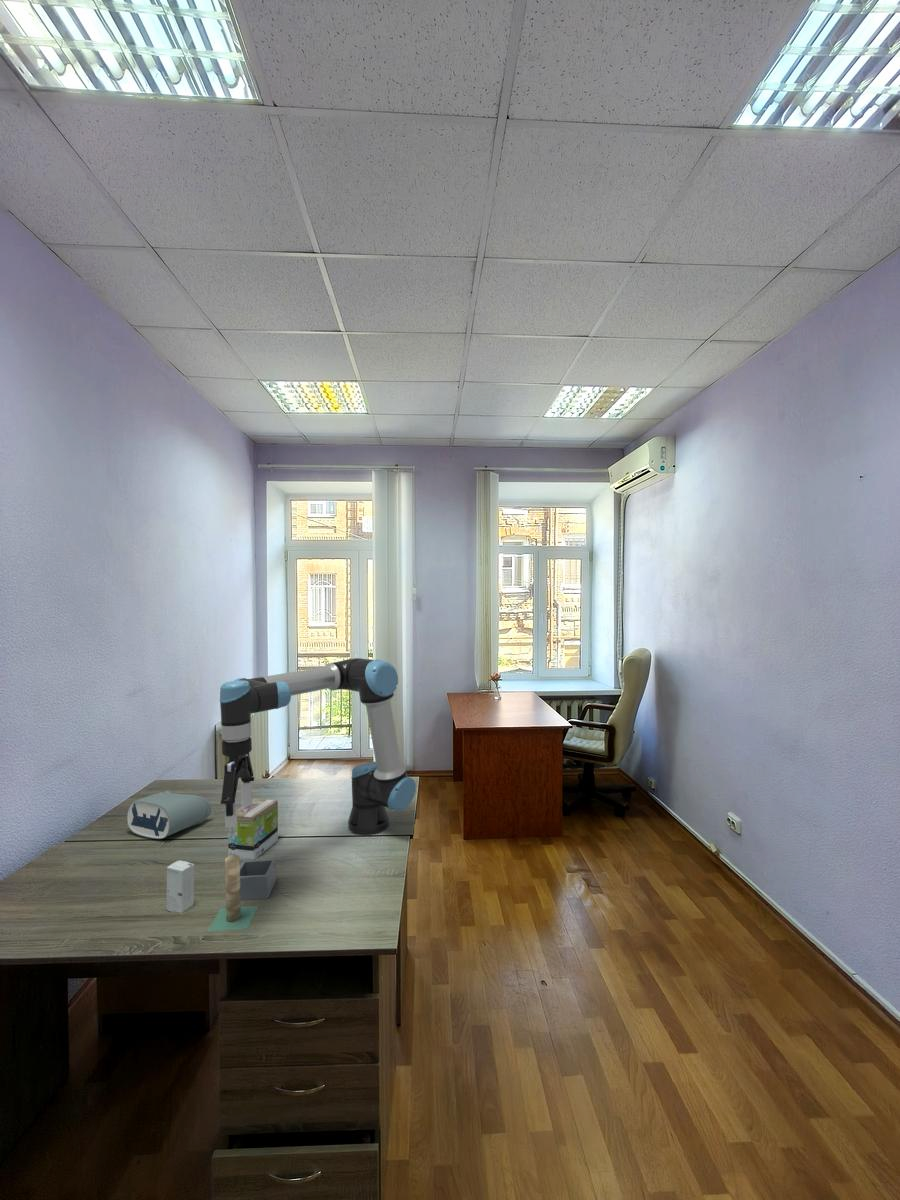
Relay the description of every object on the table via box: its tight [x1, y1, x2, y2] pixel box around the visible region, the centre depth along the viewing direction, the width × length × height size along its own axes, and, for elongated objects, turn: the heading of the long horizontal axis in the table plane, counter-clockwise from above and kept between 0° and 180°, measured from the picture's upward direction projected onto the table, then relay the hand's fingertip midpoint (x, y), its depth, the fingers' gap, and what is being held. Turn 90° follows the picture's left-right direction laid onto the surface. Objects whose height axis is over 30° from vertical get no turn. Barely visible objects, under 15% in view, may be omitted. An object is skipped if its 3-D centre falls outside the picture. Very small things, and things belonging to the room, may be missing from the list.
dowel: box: [224, 855, 242, 922], centre depth 139 cm, size 4×4×16 cm
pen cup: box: [240, 858, 277, 901], centre depth 152 cm, size 10×10×7 cm
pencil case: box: [125, 790, 212, 840], centre depth 196 cm, size 22×19×13 cm
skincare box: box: [166, 860, 195, 914], centre depth 144 cm, size 6×4×12 cm
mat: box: [207, 905, 259, 933], centre depth 139 cm, size 10×10×1 cm
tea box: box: [227, 798, 279, 860], centre depth 178 cm, size 15×10×15 cm, turn 168°
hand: (239, 815), depth 142 cm, fingers open, 13 cm apart
